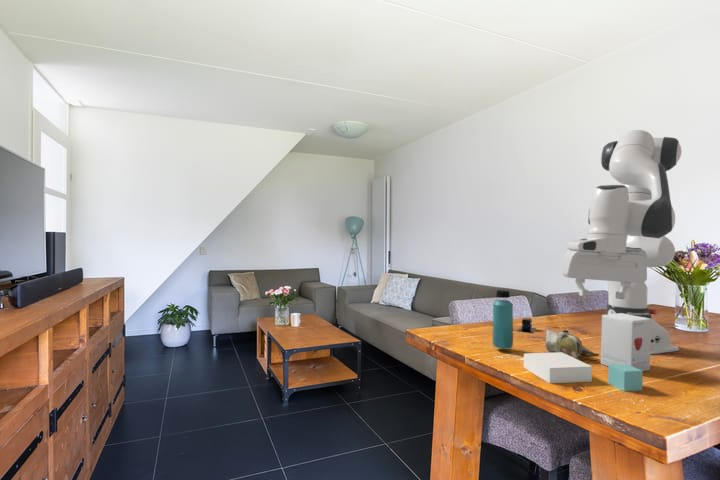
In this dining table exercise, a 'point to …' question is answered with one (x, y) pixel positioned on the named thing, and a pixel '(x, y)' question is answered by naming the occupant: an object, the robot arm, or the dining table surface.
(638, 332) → the supplement box
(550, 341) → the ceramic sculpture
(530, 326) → the black boxy piece
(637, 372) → the cube
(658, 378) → the dining table surface
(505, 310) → the beverage bottle
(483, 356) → the dining table surface
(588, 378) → the stand
